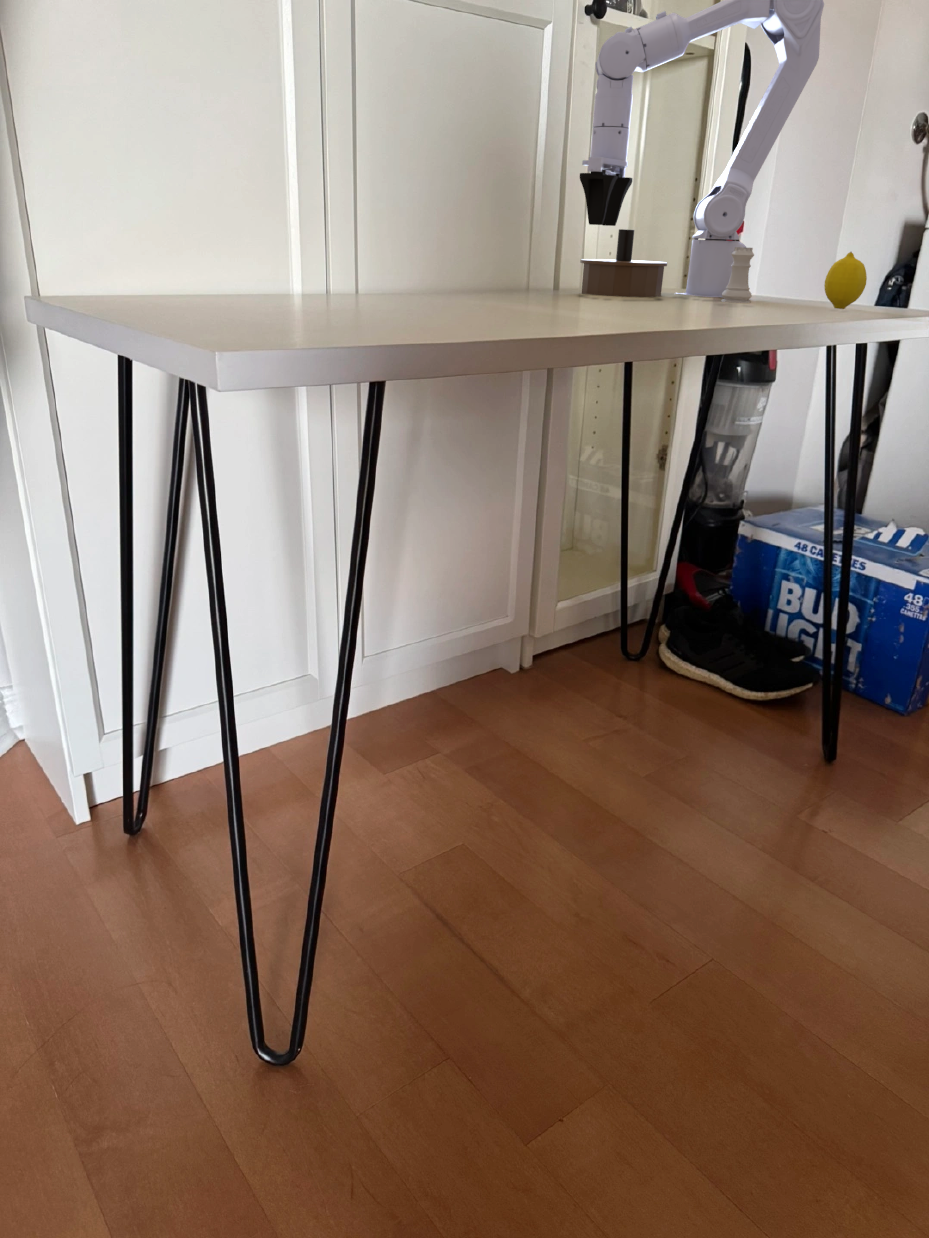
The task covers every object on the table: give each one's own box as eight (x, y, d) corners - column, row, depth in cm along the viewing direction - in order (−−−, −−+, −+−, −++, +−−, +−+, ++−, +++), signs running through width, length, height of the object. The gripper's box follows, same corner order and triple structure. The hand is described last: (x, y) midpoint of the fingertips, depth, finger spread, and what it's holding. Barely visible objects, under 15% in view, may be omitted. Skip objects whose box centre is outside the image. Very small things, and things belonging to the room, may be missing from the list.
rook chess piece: (743, 304, 134) (752, 247, 131) (755, 307, 130) (764, 248, 127) (715, 304, 133) (723, 246, 130) (726, 306, 129) (735, 247, 126)
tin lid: (622, 266, 147) (626, 230, 145) (684, 271, 137) (689, 231, 135) (562, 266, 140) (564, 227, 138) (622, 270, 130) (626, 229, 128)
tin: (620, 294, 148) (623, 262, 146) (676, 300, 139) (680, 266, 137) (565, 295, 142) (567, 262, 140) (620, 301, 132) (623, 266, 131)
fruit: (867, 311, 129) (879, 252, 126) (848, 312, 125) (860, 252, 122) (831, 308, 133) (842, 251, 129) (812, 309, 129) (823, 250, 126)
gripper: (599, 134, 143) (591, 225, 149) (571, 123, 131) (564, 223, 137) (641, 133, 141) (632, 226, 146) (618, 123, 129) (608, 225, 134)
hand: (602, 225), depth 141 cm, fingers open, 7 cm apart
